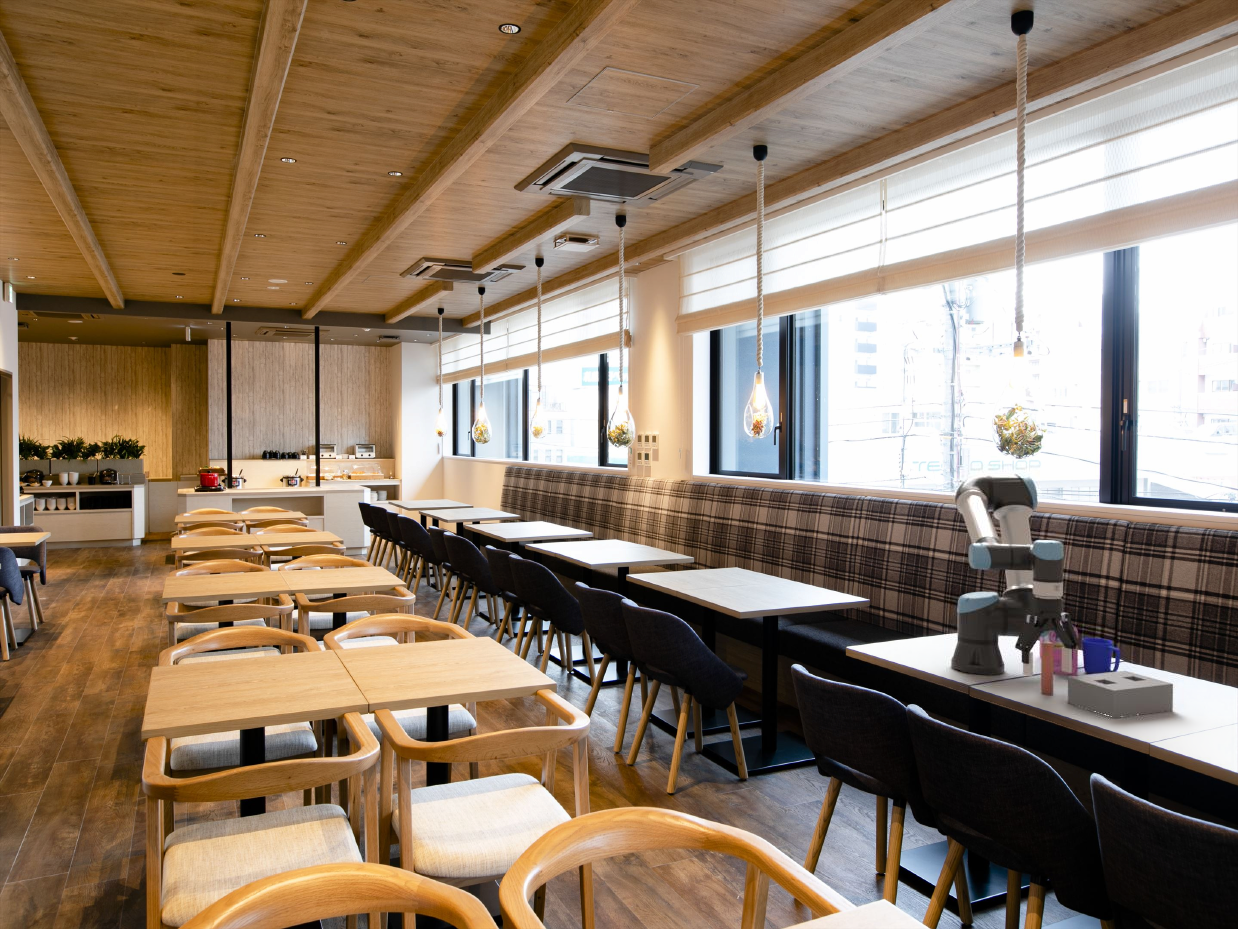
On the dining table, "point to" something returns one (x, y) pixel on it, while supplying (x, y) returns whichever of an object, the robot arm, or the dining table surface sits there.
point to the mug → (1099, 655)
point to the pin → (1047, 668)
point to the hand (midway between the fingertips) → (1047, 673)
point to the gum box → (1060, 652)
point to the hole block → (1120, 693)
